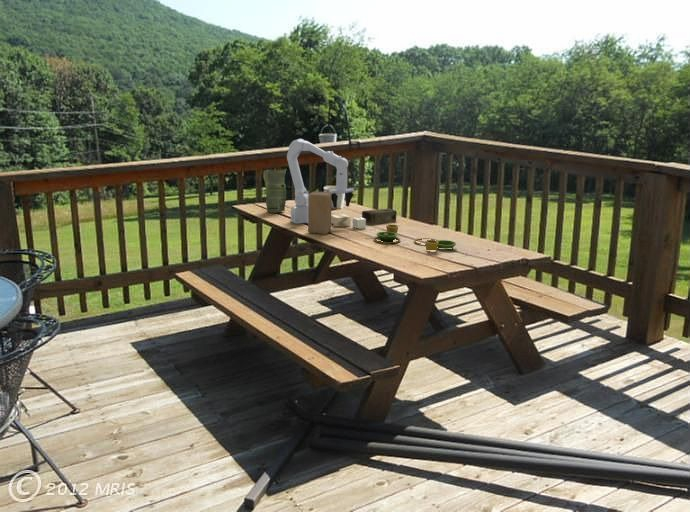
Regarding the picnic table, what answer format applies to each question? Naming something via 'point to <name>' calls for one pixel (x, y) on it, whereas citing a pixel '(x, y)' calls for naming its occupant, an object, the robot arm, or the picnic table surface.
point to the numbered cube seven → (359, 222)
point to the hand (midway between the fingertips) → (341, 206)
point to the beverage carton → (379, 216)
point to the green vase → (275, 190)
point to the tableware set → (430, 244)
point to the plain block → (340, 220)
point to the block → (319, 212)
